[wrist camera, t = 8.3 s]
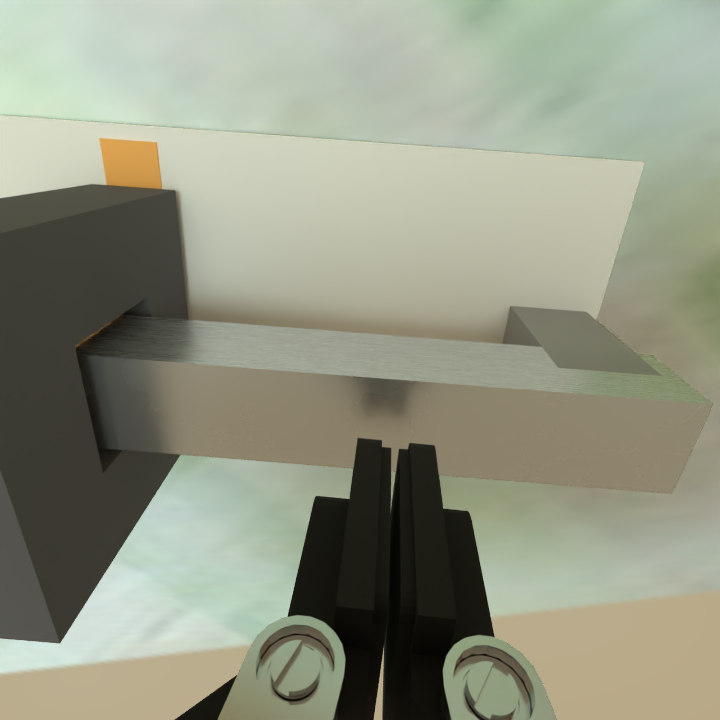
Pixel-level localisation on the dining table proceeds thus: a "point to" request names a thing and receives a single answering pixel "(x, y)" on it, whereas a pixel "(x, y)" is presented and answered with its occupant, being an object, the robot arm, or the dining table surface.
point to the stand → (366, 230)
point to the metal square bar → (384, 402)
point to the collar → (72, 390)
